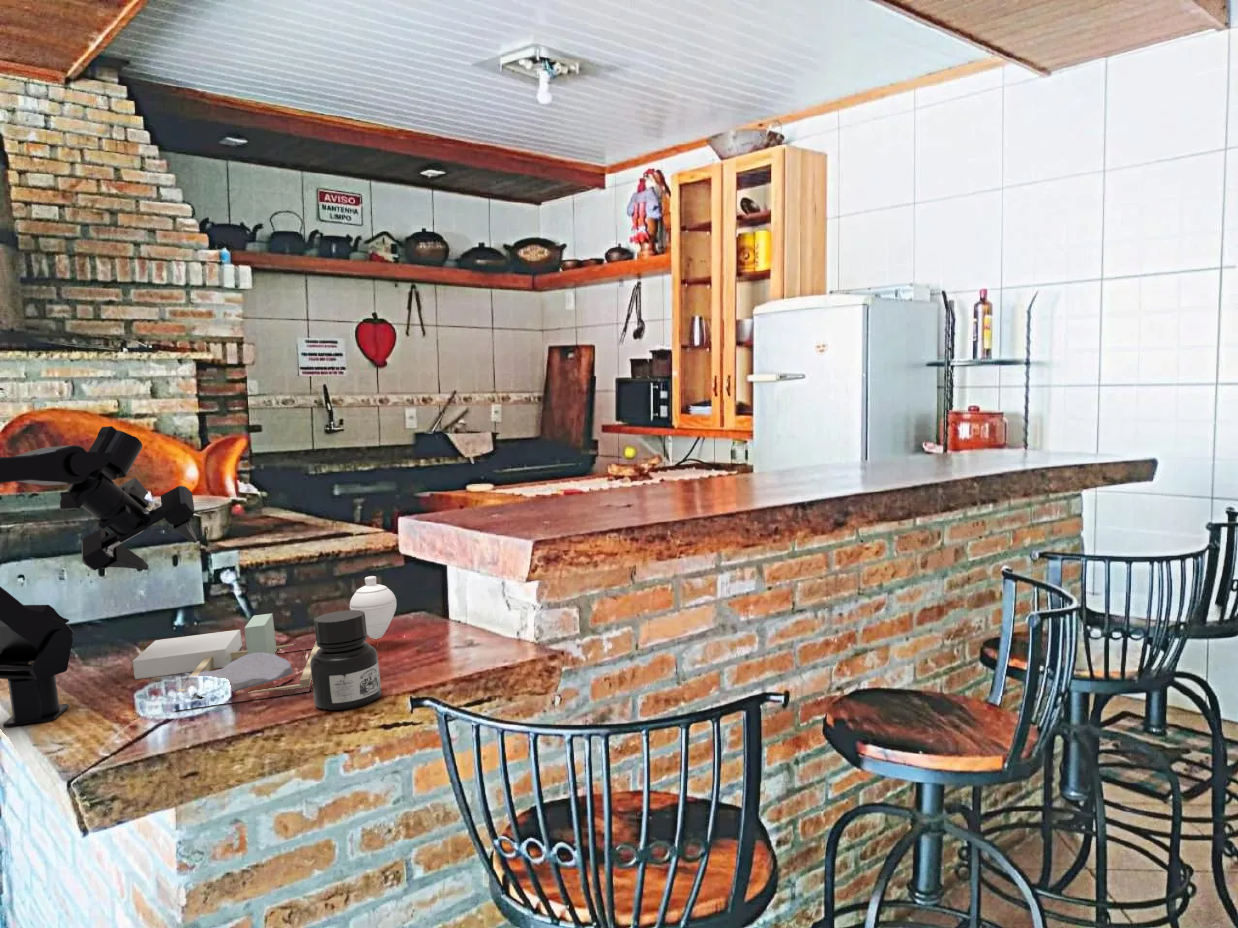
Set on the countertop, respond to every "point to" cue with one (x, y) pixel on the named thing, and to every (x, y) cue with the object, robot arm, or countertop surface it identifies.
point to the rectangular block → (260, 634)
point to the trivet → (186, 653)
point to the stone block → (252, 670)
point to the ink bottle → (344, 662)
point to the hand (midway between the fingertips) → (171, 554)
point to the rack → (304, 682)
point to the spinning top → (375, 606)
